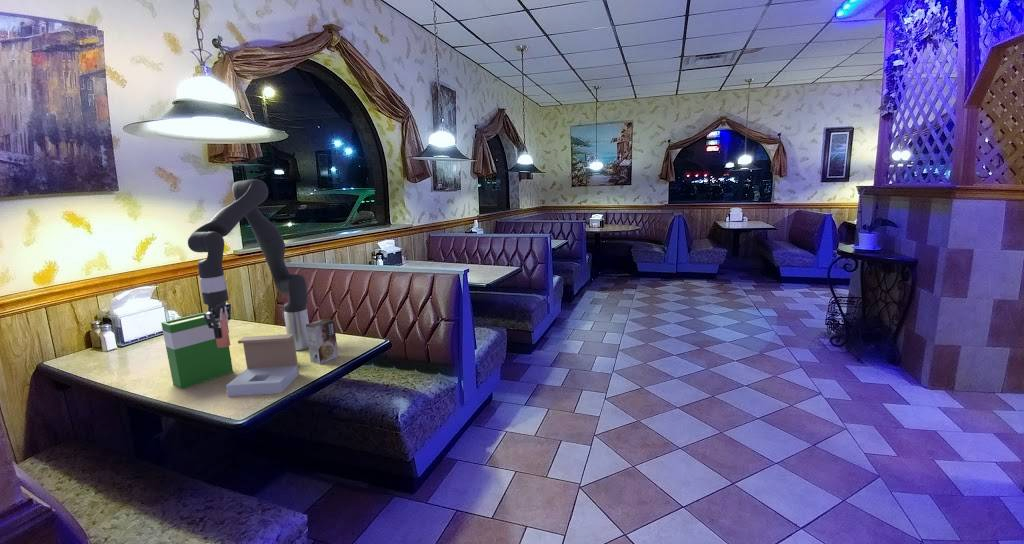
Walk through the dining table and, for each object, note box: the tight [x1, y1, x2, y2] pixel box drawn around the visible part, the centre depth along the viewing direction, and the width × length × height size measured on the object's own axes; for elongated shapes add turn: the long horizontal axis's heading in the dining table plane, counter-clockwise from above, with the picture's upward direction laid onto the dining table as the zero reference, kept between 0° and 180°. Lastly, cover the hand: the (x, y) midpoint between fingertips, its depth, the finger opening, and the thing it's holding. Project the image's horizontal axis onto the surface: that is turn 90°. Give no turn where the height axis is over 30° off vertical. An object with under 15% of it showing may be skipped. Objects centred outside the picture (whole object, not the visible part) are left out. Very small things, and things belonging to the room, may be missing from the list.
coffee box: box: [306, 318, 339, 365], centre depth 188 cm, size 9×6×16 cm
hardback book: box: [160, 311, 234, 390], centre depth 173 cm, size 18×7×24 cm, turn 145°
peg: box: [215, 312, 231, 348], centre depth 163 cm, size 4×4×12 cm
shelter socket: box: [225, 333, 300, 397], centre depth 166 cm, size 16×18×16 cm
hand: (222, 335), depth 164 cm, fingers closed on peg, 4 cm apart
